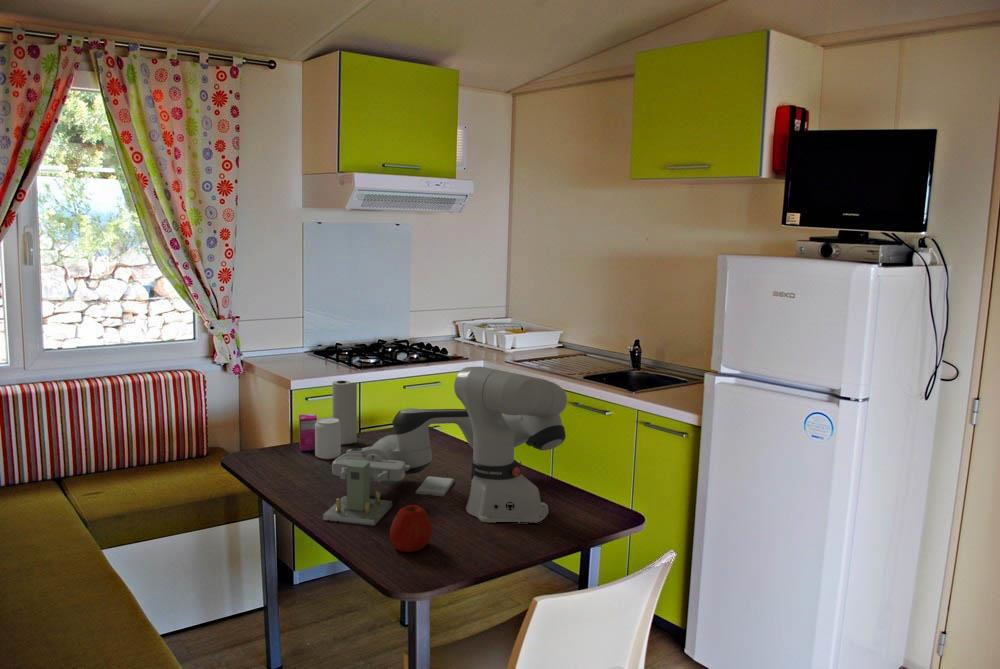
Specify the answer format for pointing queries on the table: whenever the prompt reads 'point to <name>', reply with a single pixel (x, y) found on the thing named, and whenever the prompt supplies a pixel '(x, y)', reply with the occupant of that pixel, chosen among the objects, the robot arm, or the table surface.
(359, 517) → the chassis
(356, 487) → the block
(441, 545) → the table surface
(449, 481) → the external hard drive
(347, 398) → the paper towel roll
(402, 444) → the robot arm
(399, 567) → the table surface
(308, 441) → the supplement box
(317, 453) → the beverage can
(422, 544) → the apple
